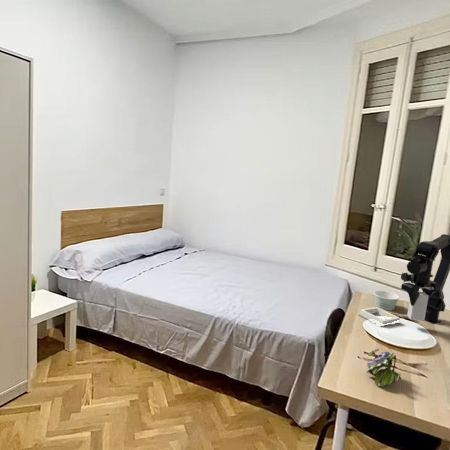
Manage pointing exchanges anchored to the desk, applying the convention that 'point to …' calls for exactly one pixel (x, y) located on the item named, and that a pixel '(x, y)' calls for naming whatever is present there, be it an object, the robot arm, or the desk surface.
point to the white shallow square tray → (376, 311)
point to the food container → (385, 300)
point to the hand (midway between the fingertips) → (417, 304)
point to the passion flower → (380, 362)
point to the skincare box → (418, 308)
